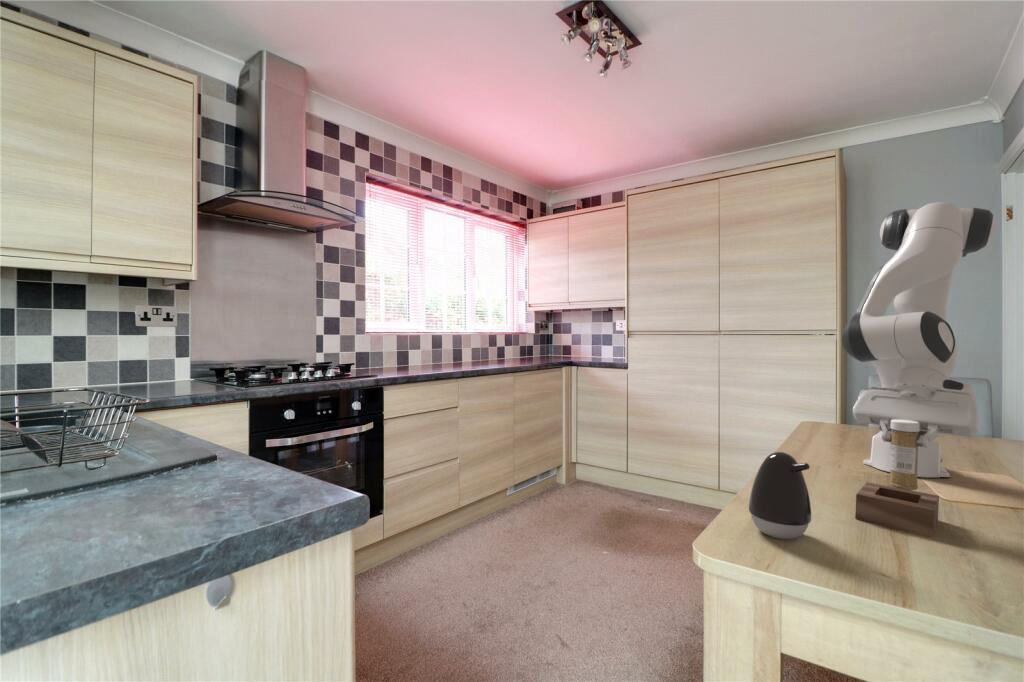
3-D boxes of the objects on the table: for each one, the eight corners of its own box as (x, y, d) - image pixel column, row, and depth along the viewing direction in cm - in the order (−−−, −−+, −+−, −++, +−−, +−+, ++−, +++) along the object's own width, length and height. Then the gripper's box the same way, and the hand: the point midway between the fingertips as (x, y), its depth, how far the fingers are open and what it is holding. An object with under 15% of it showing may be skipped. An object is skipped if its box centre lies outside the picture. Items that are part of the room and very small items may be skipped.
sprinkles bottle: (921, 488, 99) (923, 421, 99) (912, 492, 96) (915, 423, 96) (893, 482, 102) (895, 418, 102) (885, 486, 100) (887, 419, 100)
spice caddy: (866, 504, 109) (866, 481, 109) (937, 520, 100) (938, 495, 100) (855, 518, 100) (856, 494, 100) (932, 537, 92) (934, 510, 92)
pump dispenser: (785, 549, 85) (788, 462, 84) (735, 527, 94) (738, 448, 94) (824, 541, 89) (828, 457, 88) (773, 519, 98) (776, 444, 98)
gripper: (858, 377, 112) (840, 424, 106) (982, 385, 95) (968, 442, 90) (865, 395, 114) (848, 443, 109) (986, 406, 98) (973, 463, 92)
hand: (903, 442), depth 99 cm, fingers closed on sprinkles bottle, 4 cm apart
